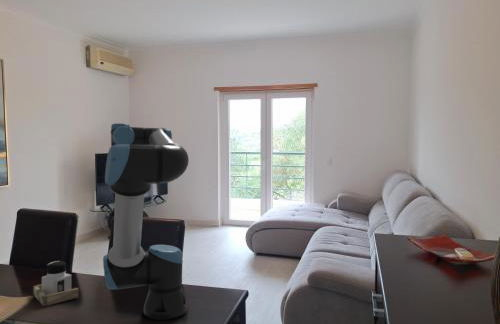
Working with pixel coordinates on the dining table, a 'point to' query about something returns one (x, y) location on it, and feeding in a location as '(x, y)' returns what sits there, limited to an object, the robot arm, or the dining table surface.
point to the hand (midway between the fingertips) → (120, 218)
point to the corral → (53, 295)
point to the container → (56, 278)
